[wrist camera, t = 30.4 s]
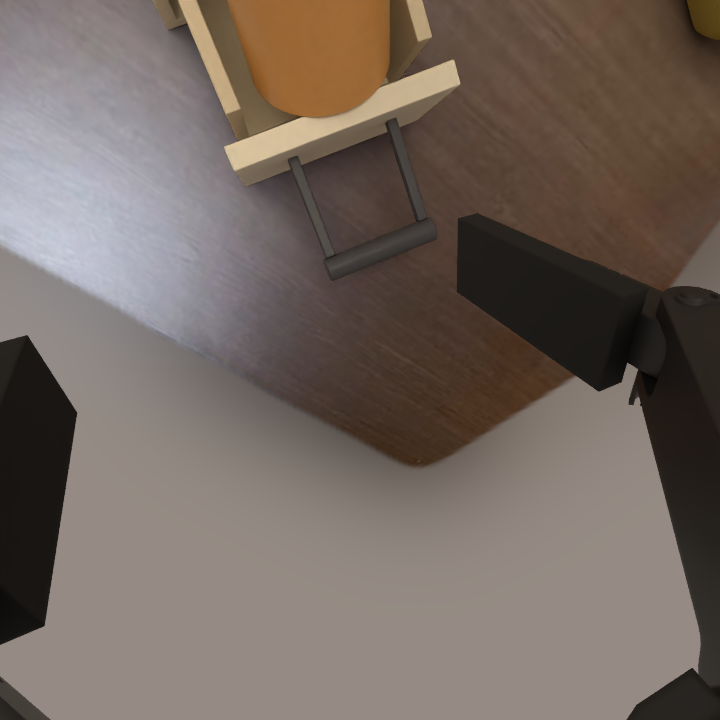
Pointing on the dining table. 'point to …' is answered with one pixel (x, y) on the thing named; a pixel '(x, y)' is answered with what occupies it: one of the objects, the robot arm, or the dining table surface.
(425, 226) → the drawer
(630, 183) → the dining table surface
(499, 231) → the robot arm
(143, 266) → the dining table surface
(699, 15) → the flower pot
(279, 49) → the orange dome-capped jar
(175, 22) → the cabinet
